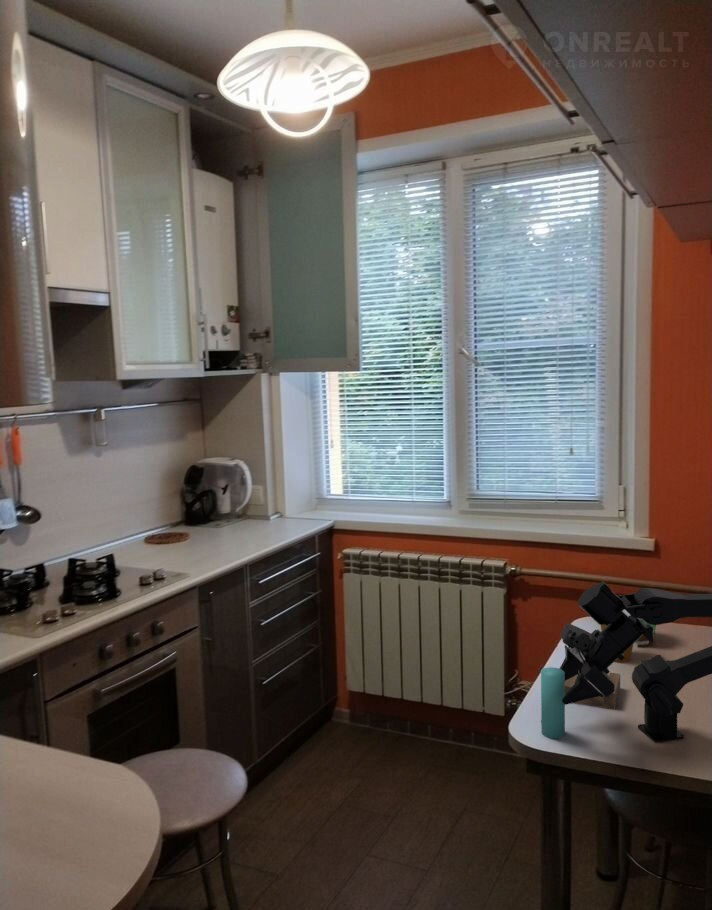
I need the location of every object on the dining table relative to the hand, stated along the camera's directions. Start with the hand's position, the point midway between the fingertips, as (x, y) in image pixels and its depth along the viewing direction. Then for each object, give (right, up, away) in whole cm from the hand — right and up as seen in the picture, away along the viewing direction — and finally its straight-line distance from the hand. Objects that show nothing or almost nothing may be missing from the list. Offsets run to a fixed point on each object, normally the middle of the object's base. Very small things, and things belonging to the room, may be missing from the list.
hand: (558, 692), depth 148 cm
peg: (-1, -9, +1) cm, 9 cm away
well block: (+12, -6, +18) cm, 22 cm away
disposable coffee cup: (+25, -4, +38) cm, 46 cm away
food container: (+37, -2, +48) cm, 60 cm away
